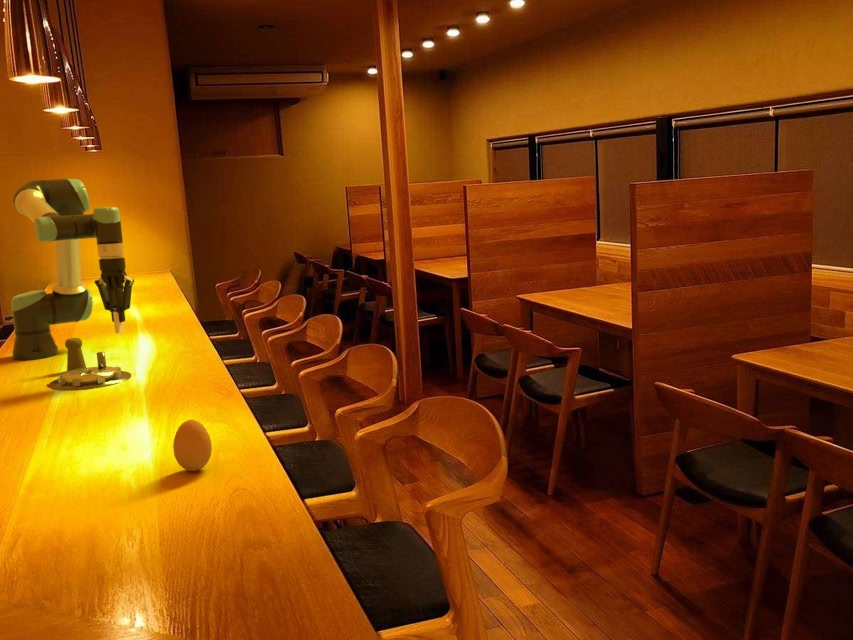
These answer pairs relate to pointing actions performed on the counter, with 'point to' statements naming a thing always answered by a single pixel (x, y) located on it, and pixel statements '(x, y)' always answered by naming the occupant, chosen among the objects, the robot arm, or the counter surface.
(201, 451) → the egg
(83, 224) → the robot arm
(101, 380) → the sprocket
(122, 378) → the plate
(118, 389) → the counter surface
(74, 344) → the pepper mill
